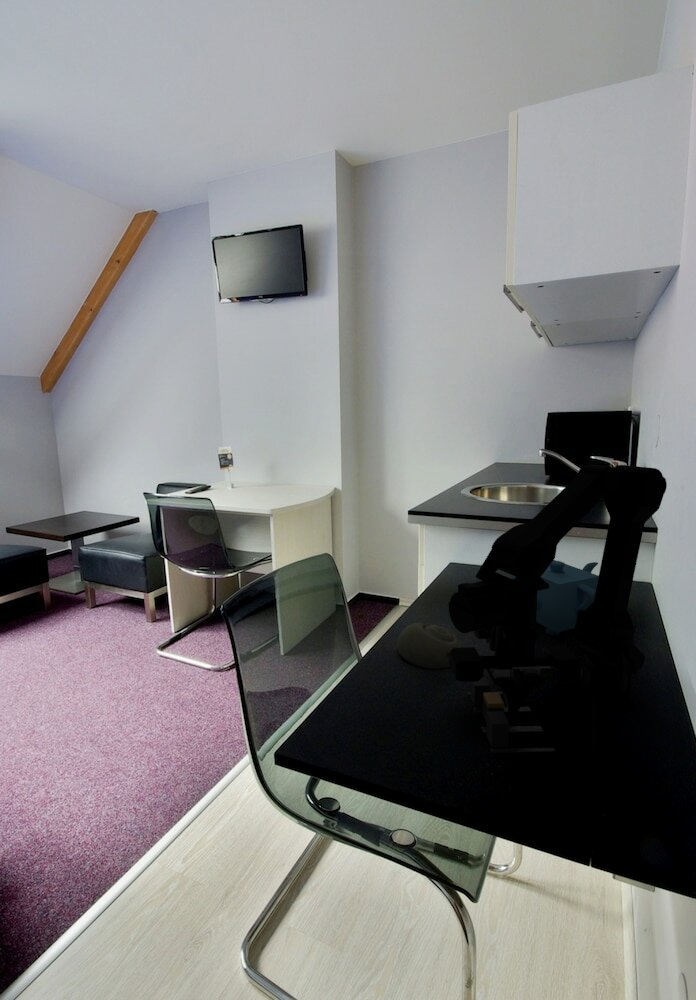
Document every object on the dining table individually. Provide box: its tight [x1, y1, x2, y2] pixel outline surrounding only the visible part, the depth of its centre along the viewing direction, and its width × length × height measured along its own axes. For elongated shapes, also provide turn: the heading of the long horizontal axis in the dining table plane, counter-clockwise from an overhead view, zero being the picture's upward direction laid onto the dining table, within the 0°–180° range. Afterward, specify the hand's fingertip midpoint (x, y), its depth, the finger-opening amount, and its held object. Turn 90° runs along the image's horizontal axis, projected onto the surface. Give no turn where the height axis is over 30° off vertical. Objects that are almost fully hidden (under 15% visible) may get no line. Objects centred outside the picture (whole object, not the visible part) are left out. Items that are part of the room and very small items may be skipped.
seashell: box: [396, 622, 461, 670], centre depth 98 cm, size 13×8×10 cm
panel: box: [466, 691, 556, 754], centre depth 78 cm, size 18×16×1 cm
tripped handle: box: [482, 691, 505, 722], centre depth 77 cm, size 2×3×4 cm
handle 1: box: [469, 675, 491, 708], centre depth 82 cm, size 2×3×4 cm
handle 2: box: [485, 711, 510, 749], centre depth 72 cm, size 2×3×4 cm
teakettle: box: [510, 559, 599, 636], centre depth 114 cm, size 19×19×15 cm
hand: (511, 713), depth 77 cm, fingers closed
